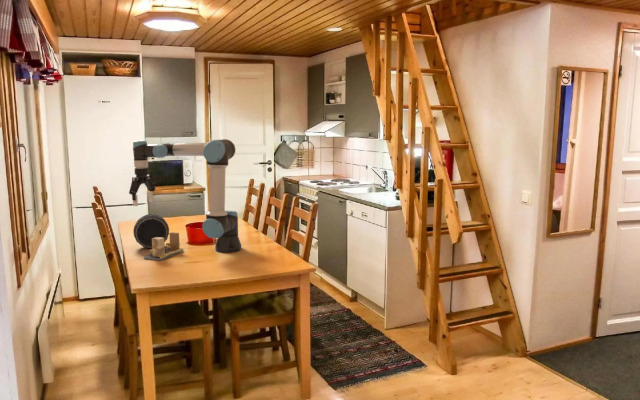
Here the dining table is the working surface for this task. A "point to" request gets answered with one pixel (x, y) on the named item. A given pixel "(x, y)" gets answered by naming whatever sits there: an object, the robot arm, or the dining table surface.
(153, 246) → the block
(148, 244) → the dark studded bowl
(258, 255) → the dining table surface
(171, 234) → the grey board with posts
